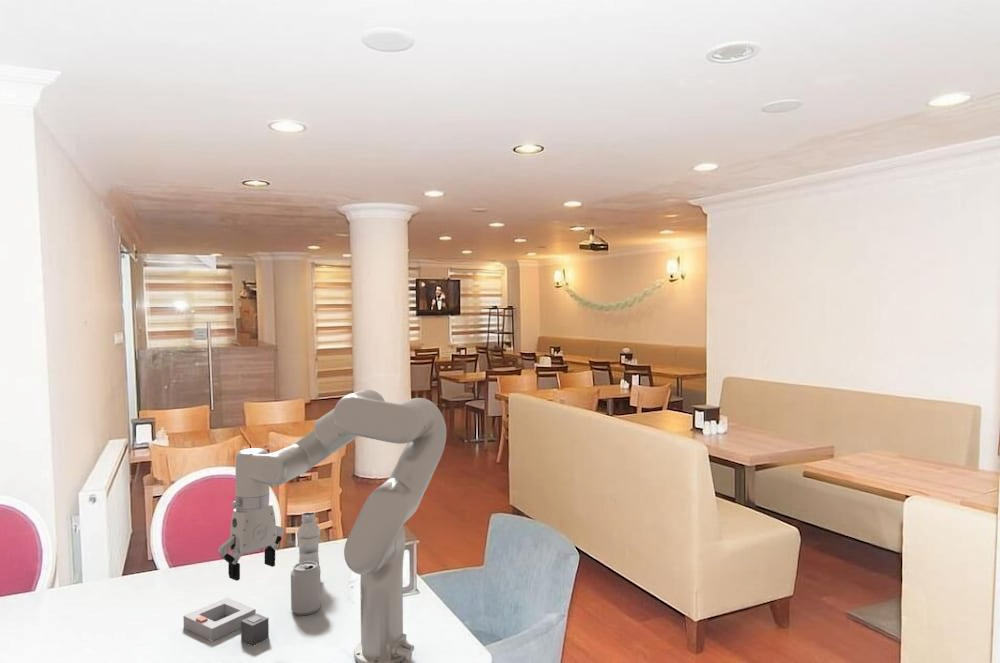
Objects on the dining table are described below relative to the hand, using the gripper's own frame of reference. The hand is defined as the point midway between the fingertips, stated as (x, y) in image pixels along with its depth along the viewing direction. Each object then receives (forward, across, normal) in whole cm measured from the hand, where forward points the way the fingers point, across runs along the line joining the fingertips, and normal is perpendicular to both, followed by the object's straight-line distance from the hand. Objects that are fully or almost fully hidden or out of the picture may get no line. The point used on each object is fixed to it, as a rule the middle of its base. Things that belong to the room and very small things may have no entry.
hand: (252, 571), depth 153 cm
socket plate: (+17, 0, +13) cm, 21 cm away
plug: (+16, 0, -1) cm, 17 cm away
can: (+17, +17, +1) cm, 24 cm away
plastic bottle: (+17, +29, +14) cm, 37 cm away
